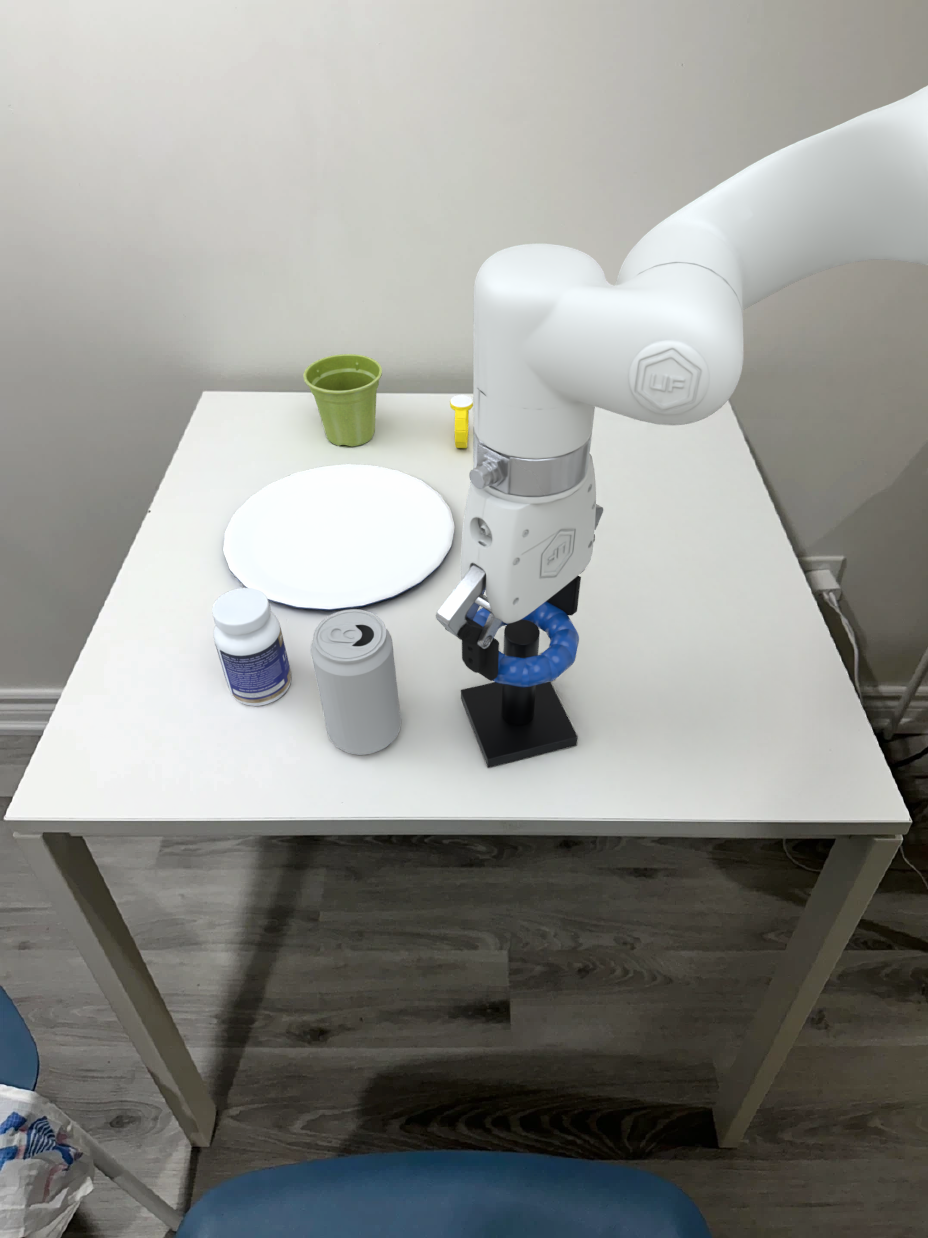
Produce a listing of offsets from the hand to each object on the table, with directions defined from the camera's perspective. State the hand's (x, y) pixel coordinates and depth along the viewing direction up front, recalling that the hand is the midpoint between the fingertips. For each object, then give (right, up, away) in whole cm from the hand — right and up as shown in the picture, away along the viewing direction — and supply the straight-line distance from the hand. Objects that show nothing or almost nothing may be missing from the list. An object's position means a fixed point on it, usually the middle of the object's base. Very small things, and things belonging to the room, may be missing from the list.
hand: (520, 636), depth 67 cm
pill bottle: (-23, -5, +11) cm, 26 cm away
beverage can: (-13, -8, +7) cm, 17 cm away
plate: (-18, +10, +26) cm, 33 cm away
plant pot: (-19, +25, +41) cm, 51 cm away
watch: (-5, +23, +39) cm, 46 cm away
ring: (0, 0, 0) cm, 0 cm away
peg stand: (0, -8, +7) cm, 11 cm away
